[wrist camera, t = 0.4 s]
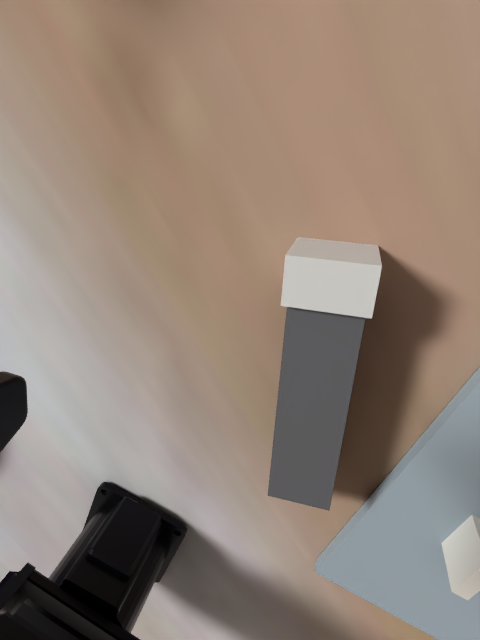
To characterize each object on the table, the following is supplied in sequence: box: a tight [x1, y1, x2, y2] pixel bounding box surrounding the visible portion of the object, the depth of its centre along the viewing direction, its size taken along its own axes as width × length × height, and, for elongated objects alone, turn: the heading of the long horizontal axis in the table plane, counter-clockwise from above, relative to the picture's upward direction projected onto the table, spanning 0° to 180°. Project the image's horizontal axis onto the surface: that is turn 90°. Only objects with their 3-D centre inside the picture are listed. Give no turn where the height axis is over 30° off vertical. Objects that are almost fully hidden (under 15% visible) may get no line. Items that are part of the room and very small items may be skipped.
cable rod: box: [268, 237, 382, 510], centre depth 19 cm, size 12×3×3 cm, turn 176°
